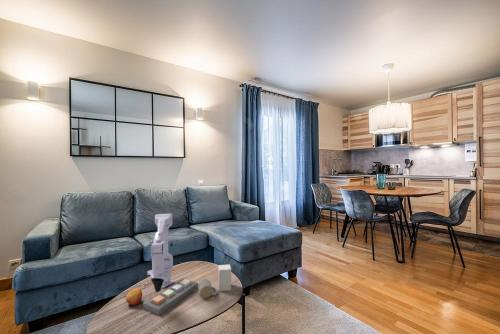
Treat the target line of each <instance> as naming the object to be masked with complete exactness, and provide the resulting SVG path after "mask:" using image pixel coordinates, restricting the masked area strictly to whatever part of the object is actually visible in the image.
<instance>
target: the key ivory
mask: <svg viewBox="0 0 500 334" xmlns="http://www.w3.org/2000/svg"><path fill="white" fill-rule="evenodd" d="M191 281H192V280H190V279H186V278H184V280H183V281H181V282H180V285H182V286H183V287H187V286H188V285H190V284H191Z"/></svg>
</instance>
